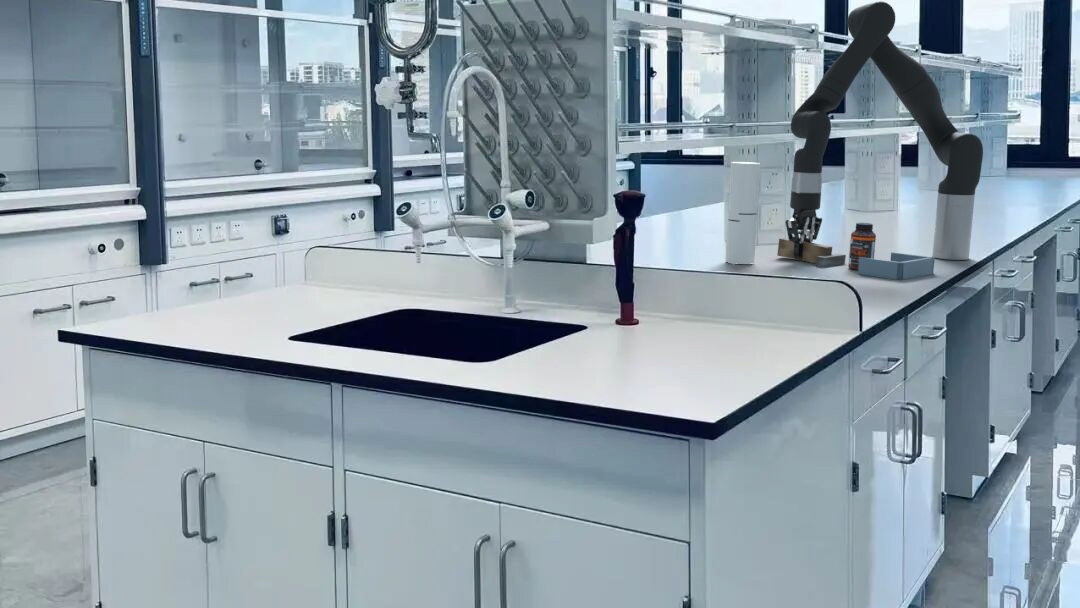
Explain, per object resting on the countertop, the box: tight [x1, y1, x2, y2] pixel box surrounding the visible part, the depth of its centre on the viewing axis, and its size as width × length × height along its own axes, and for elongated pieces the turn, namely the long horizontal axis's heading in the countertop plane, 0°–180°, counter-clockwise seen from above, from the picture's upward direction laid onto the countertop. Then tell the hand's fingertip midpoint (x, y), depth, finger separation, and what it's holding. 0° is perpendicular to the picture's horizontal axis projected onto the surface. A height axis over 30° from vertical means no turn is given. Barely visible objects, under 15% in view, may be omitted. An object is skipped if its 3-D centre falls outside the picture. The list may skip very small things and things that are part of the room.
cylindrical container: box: [725, 161, 761, 264], centre depth 279 cm, size 7×7×25 cm
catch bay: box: [857, 251, 936, 281], centre depth 269 cm, size 11×16×4 cm
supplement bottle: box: [848, 222, 877, 271], centre depth 275 cm, size 6×6×11 cm
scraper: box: [776, 237, 847, 268], centre depth 287 cm, size 16×10×4 cm, turn 44°
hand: (801, 257), depth 288 cm, fingers closed on scraper, 3 cm apart
